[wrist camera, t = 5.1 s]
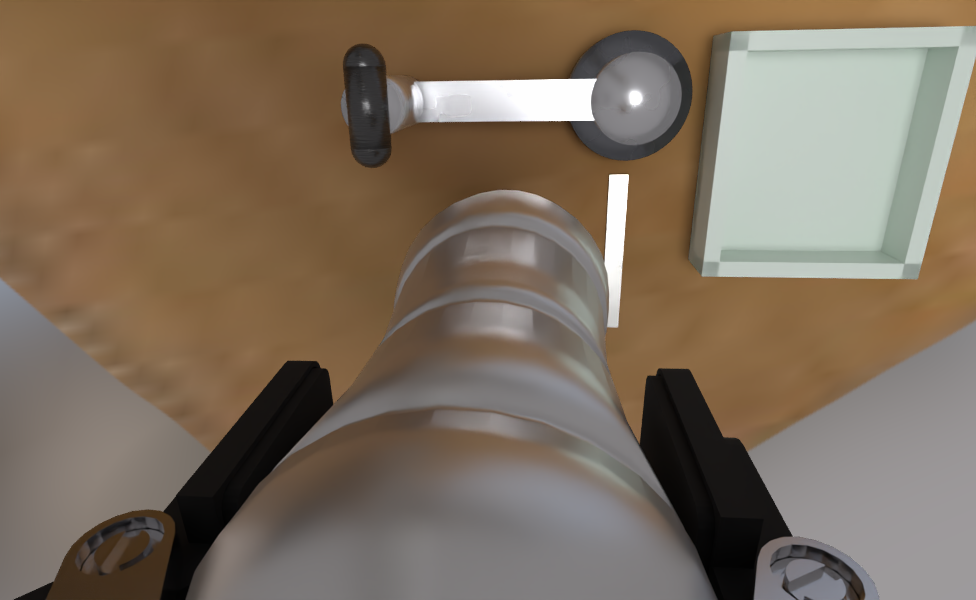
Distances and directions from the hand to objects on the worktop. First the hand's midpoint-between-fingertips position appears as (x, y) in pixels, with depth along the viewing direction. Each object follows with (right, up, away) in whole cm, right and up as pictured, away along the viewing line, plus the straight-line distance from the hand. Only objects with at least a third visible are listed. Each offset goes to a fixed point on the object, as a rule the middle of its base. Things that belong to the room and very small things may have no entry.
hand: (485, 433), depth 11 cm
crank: (+2, +12, +17) cm, 21 cm away
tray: (+17, +10, +19) cm, 27 cm away
